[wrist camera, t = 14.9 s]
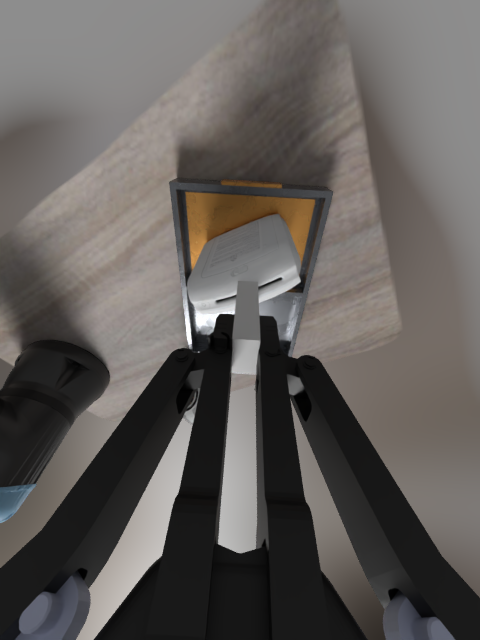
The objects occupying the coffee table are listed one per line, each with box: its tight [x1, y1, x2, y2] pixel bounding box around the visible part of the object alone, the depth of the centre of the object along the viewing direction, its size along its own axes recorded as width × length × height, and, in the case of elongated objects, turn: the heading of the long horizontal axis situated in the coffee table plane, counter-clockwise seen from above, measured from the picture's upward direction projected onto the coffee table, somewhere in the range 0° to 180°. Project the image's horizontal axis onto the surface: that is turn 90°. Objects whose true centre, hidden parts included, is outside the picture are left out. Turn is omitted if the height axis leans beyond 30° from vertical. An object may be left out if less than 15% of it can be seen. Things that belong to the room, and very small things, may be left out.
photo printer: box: [187, 214, 301, 314], centre depth 24 cm, size 10×4×12 cm, turn 113°
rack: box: [169, 178, 333, 357], centre depth 32 cm, size 16×24×3 cm
